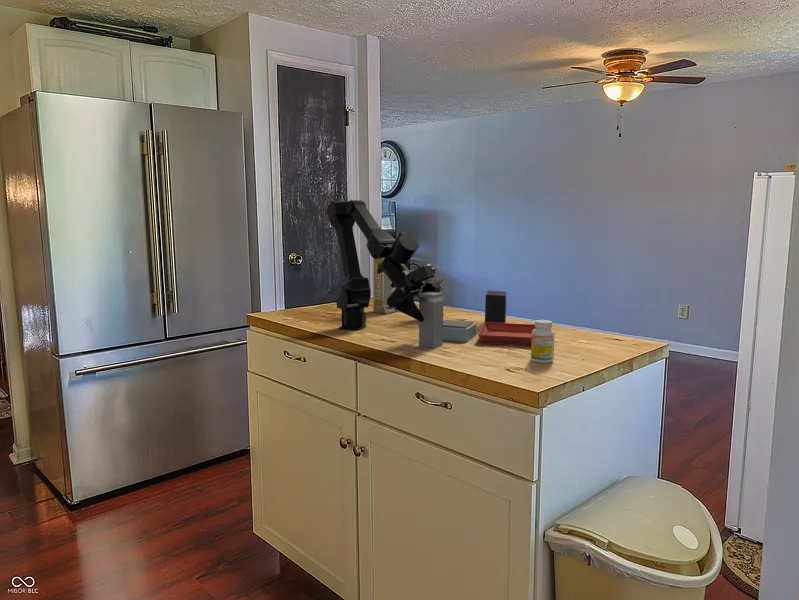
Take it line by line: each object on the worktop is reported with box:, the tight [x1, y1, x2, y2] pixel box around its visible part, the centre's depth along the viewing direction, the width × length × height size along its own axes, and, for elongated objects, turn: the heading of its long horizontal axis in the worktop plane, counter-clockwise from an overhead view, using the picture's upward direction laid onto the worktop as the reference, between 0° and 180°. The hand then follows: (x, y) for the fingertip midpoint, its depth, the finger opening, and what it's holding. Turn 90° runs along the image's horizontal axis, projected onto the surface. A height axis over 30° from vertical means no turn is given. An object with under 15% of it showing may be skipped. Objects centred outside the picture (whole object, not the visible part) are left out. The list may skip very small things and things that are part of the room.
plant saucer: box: [477, 321, 536, 347], centre depth 168 cm, size 18×18×3 cm
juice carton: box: [372, 257, 399, 314], centre depth 214 cm, size 9×8×24 cm
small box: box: [484, 290, 508, 323], centre depth 189 cm, size 11×6×10 cm, turn 168°
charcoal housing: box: [418, 292, 445, 349], centre depth 160 cm, size 5×5×14 cm
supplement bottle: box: [530, 319, 556, 364], centre depth 144 cm, size 5×5×10 cm
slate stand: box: [443, 319, 478, 343], centre depth 171 cm, size 10×10×4 cm
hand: (433, 318), depth 159 cm, fingers open, 9 cm apart
